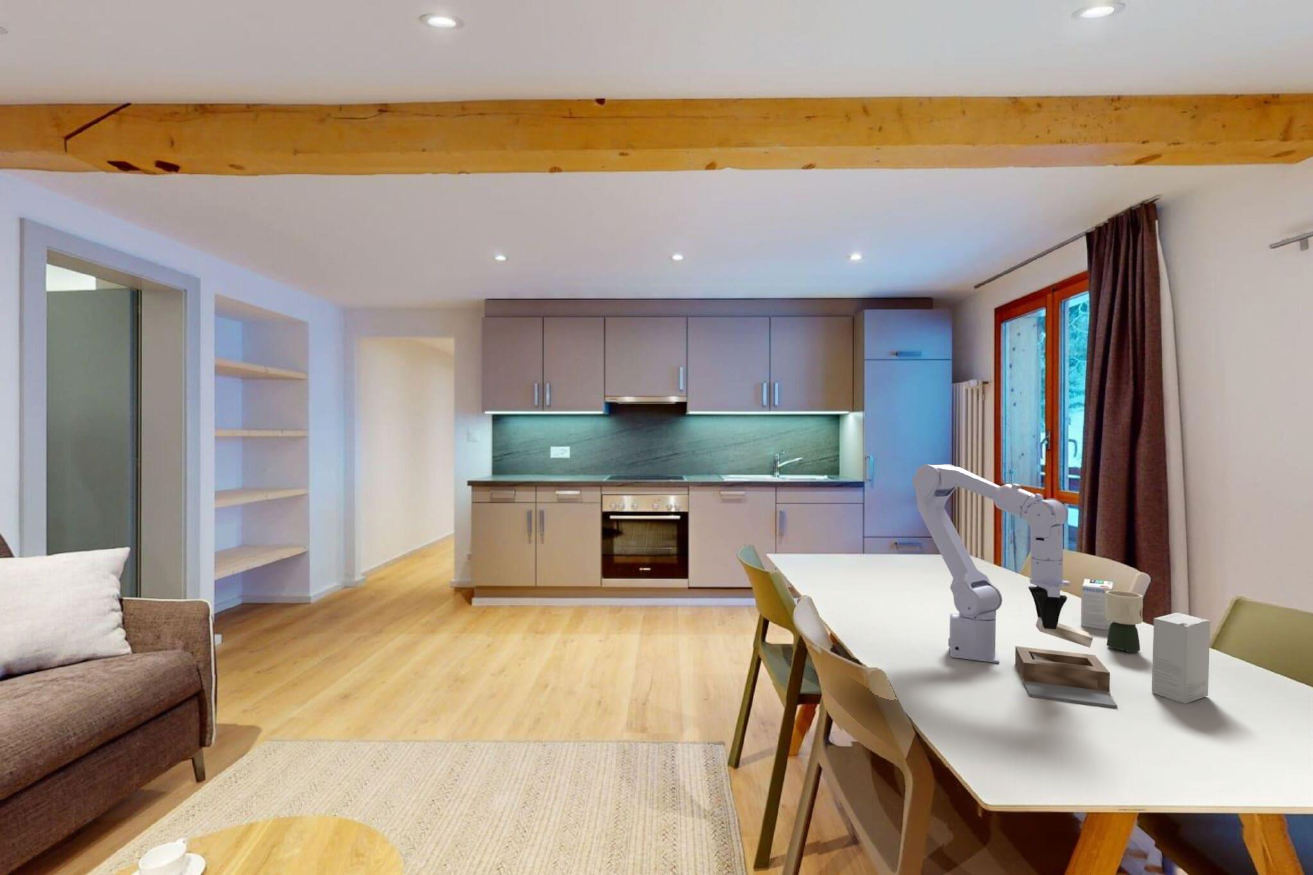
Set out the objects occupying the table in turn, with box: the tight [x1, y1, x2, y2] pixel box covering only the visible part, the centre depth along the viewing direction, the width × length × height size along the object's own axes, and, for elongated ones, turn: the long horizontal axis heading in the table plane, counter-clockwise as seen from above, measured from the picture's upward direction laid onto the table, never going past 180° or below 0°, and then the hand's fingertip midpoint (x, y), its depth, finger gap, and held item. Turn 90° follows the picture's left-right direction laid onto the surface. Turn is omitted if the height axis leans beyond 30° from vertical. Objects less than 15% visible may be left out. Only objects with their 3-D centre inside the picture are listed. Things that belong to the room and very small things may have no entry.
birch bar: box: [1035, 616, 1094, 648], centre depth 134 cm, size 9×4×2 cm, turn 69°
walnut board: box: [1014, 645, 1111, 693], centre depth 134 cm, size 15×11×4 cm
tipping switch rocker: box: [1031, 654, 1055, 662], centre depth 134 cm, size 9×5×1 cm, turn 69°
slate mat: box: [1022, 680, 1118, 709], centre depth 125 cm, size 14×7×1 cm, turn 69°
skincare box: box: [1151, 612, 1211, 705], centre depth 125 cm, size 8×6×15 cm
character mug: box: [1105, 589, 1144, 653], centre depth 152 cm, size 11×7×13 cm, turn 163°
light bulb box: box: [1080, 578, 1114, 631], centre depth 174 cm, size 11×7×11 cm, turn 144°
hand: (1047, 625), depth 135 cm, fingers closed on birch bar, 4 cm apart
